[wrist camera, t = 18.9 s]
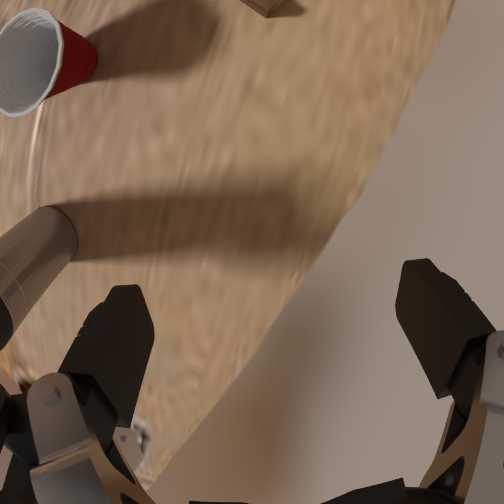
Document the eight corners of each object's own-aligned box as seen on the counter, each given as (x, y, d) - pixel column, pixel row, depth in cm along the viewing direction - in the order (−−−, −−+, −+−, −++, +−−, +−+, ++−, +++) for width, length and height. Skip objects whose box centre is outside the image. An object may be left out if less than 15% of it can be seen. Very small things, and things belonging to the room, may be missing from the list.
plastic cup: (33, 59, 26) (-29, 60, 16) (96, 7, 24) (43, -15, 14) (62, 122, 31) (2, 140, 21) (129, 73, 29) (79, 69, 19)
